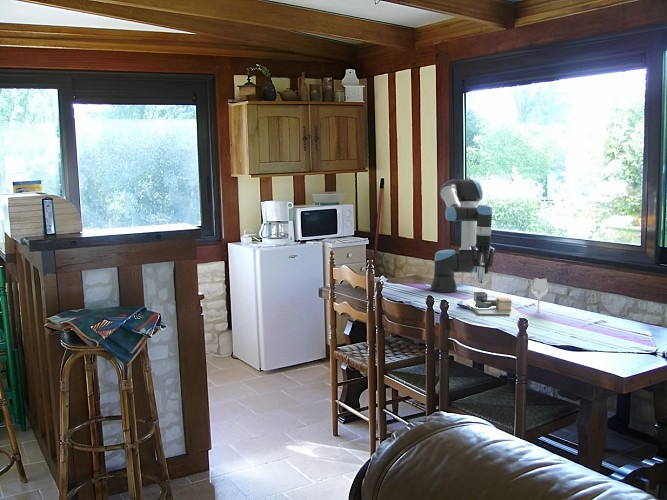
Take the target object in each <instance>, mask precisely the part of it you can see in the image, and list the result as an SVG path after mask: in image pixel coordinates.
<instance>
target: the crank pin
mask: <svg viewBox="0 0 667 500" xmlns="http://www.w3.org/2000/svg"><path fill="white" fill-rule="evenodd" d="M483 268H484V263H482V262H481V263H480V264H479V279H477V280H478V281H477V283H478V284H484V283H485V280H482V279H483Z"/></svg>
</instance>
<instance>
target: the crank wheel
mask: <svg viewBox="0 0 667 500" xmlns="http://www.w3.org/2000/svg"><path fill="white" fill-rule="evenodd" d="M473 301H474V302H475V303H476V304H475V306H476V307H478V308H489V307H491V306H496V299H488V293H487V292H485V291H474V292H473Z"/></svg>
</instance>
